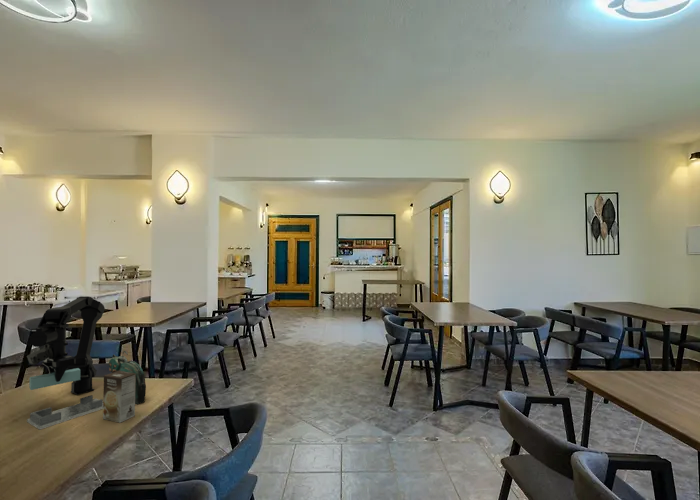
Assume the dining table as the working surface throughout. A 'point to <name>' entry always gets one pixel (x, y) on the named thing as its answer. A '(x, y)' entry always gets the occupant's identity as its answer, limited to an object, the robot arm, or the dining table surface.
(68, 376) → the rail
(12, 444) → the dining table surface
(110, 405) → the coffee box
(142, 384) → the ceramic cat
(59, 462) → the dining table surface
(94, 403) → the cup bracket
